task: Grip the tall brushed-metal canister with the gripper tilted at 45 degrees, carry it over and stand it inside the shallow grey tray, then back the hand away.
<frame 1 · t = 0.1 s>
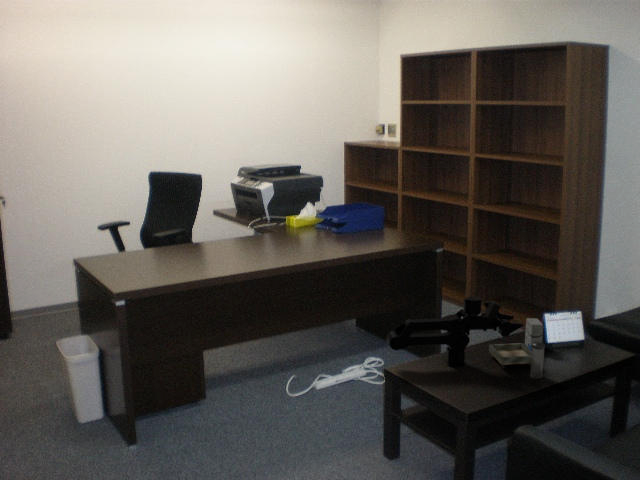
hand: (517, 321, 262), 17 cm above the table, tool horizontal, fingers open, 9 cm apart
metal canister: (536, 376, 250), on the table
shallow grey tray: (511, 362, 263), on the table, slide at 0.0 cm
ink box: (533, 348, 278), on the table
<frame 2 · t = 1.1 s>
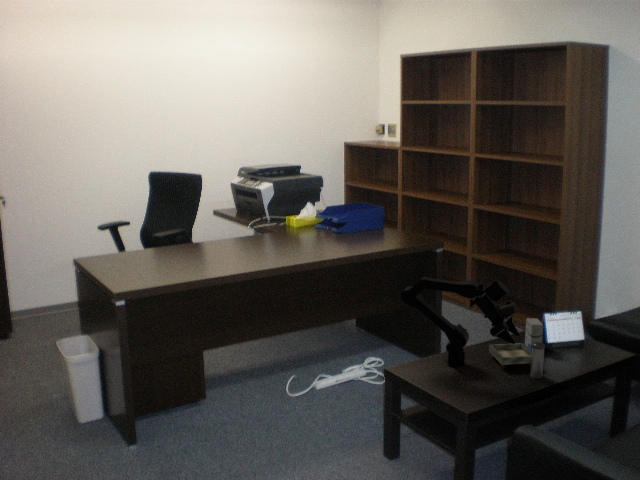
hand: (516, 339, 250), 14 cm above the table, tool tilted 45°, fingers open, 9 cm apart
nothing on the table moved.
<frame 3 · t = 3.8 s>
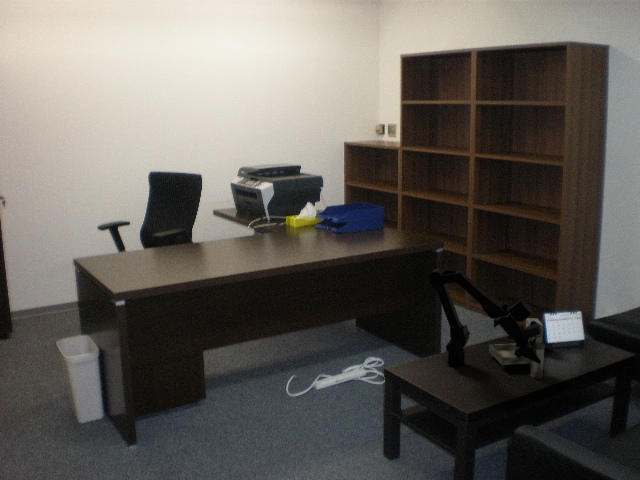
hand: (541, 360, 248), 7 cm above the table, tool tilted 45°, fingers closed on metal canister, 4 cm apart
metal canister: (536, 376, 250), on the table, touching gripper
everything else where it was.
when the fingers open (11 cm above the table, at t = 7.2 s): metal canister drops 1 cm, resting on shallow grey tray.
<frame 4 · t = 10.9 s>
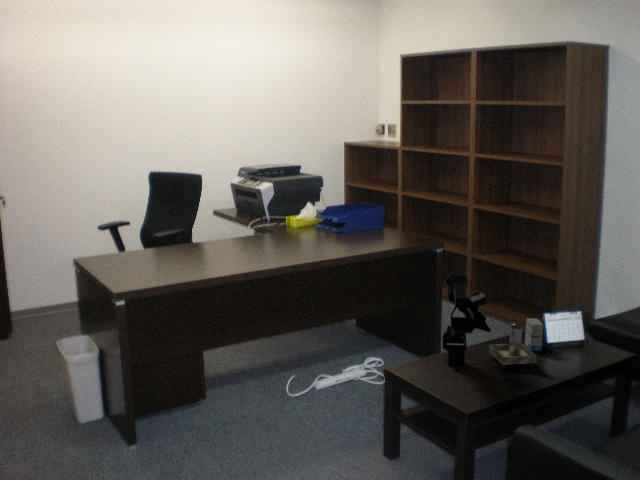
hand: (487, 326, 264), 14 cm above the table, tool tilted 45°, fingers open, 9 cm apart
metal canister: (514, 354, 262), point 3 cm above the table, touching shallow grey tray
shallow grey tray: (511, 362, 263), on the table, slide at 0.0 cm, touching metal canister
everything else where it was.
at the end: metal canister inside the target area on the shallow grey tray (0.9 cm from its centre), point 3.1 cm above the shallow grey tray's base; metal canister tilted 1°; the gripper is holding nothing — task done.
